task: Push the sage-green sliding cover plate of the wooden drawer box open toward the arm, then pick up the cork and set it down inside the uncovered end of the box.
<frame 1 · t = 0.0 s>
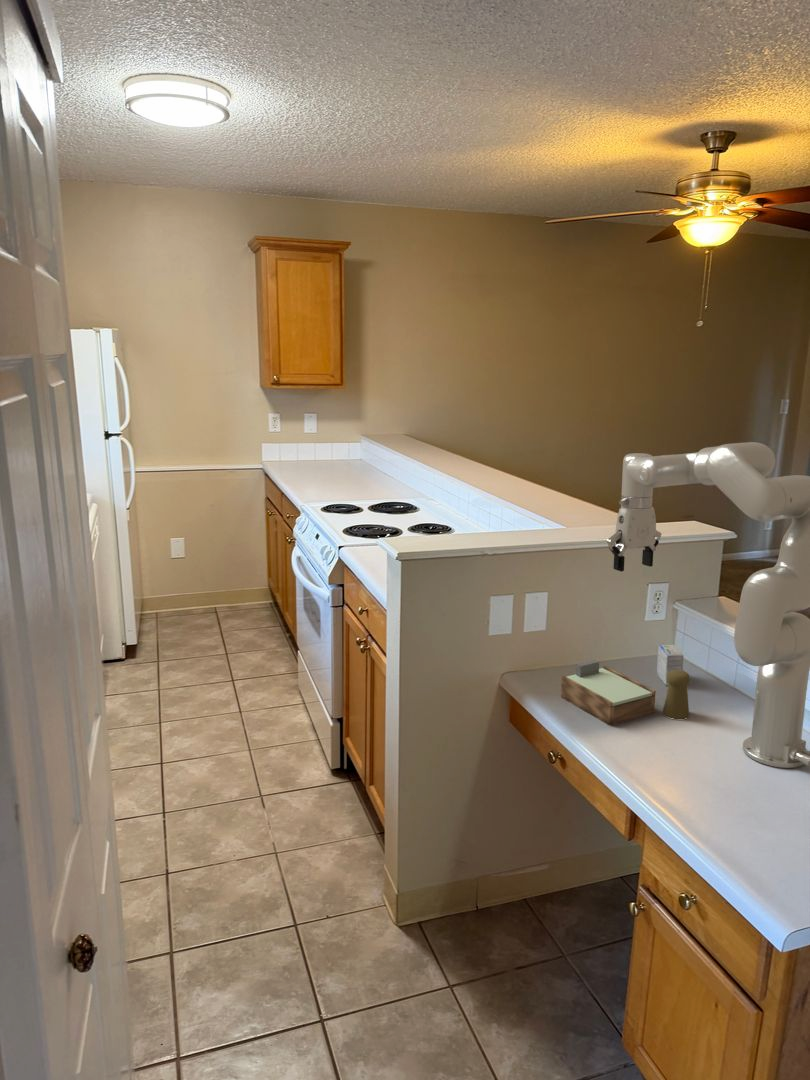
hand: (633, 567, 195), 31 cm above the countertop, fingers open, 9 cm apart
lid: (607, 680, 186), point 7 cm above the countertop, slide at 0.0 cm
medicine box: (668, 680, 202), on the countertop
wooden drawer box: (606, 704, 187), on the countertop
cork: (675, 715, 182), on the countertop
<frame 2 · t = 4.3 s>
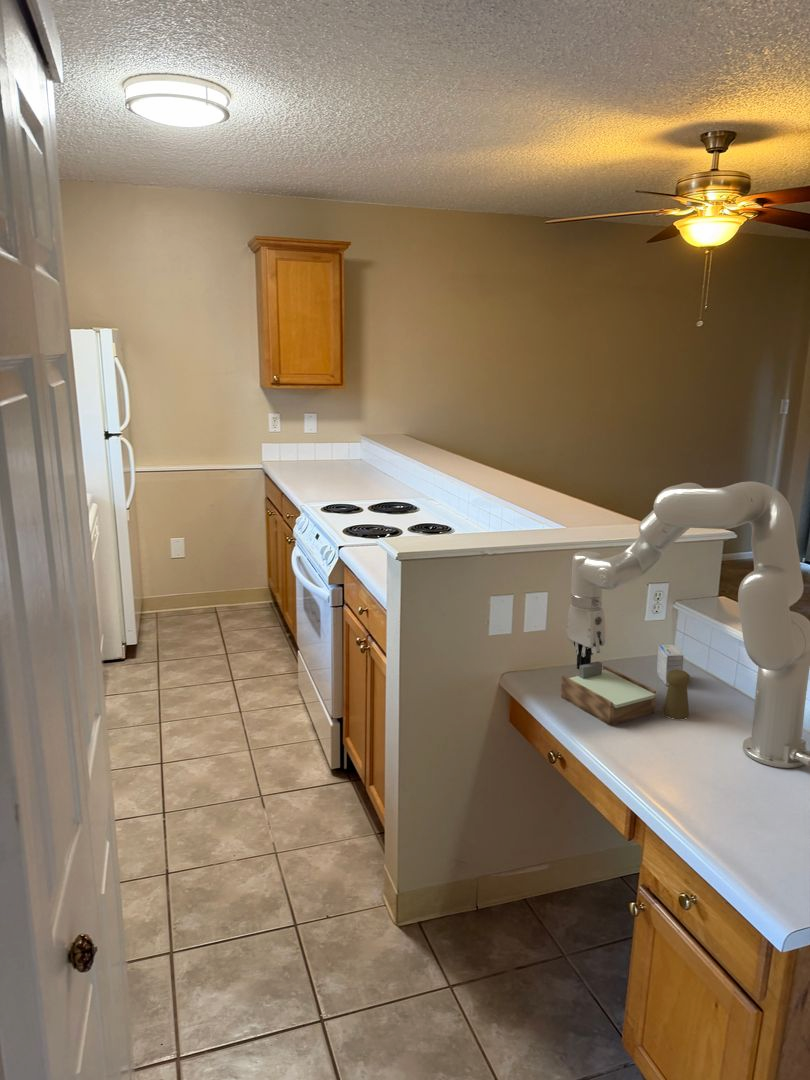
hand: (583, 668, 194), 6 cm above the countertop, fingers closed
lid: (610, 682, 185), point 7 cm above the countertop, slide at 1.2 cm, touching gripper
everything else where it was.
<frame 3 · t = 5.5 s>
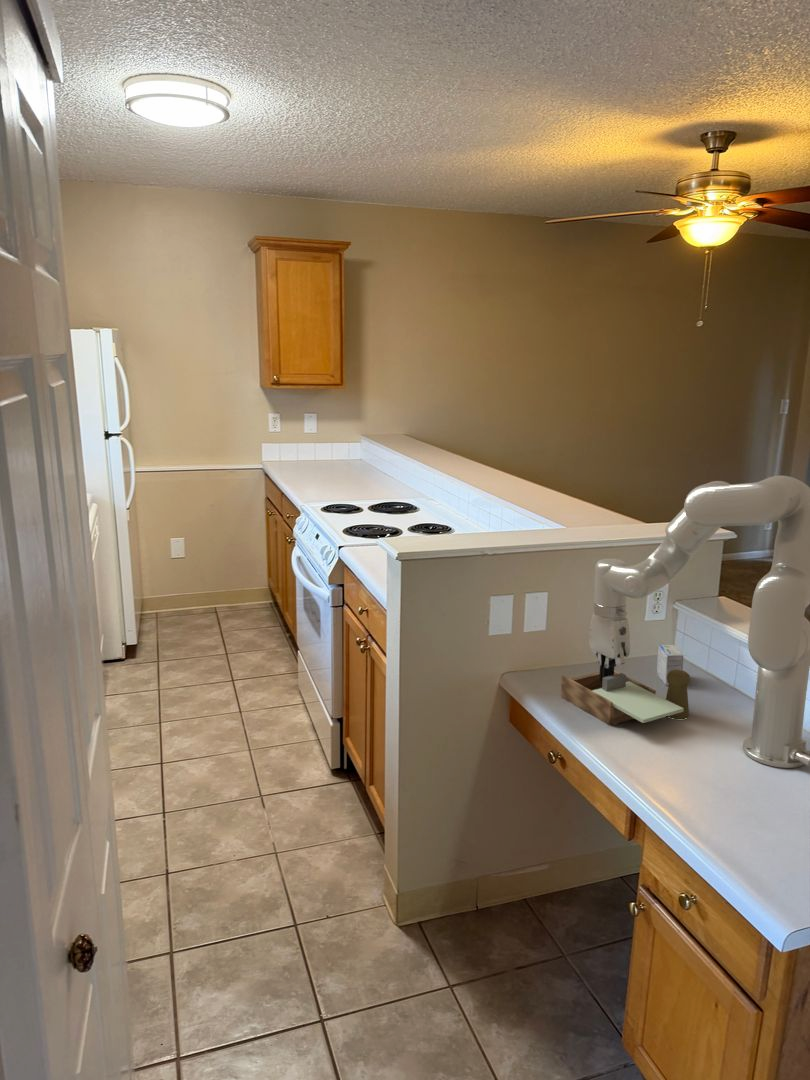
hand: (606, 680, 186), 6 cm above the countertop, fingers closed
lid: (636, 695, 177), point 7 cm above the countertop, slide at 9.8 cm, touching gripper
everything else where it was.
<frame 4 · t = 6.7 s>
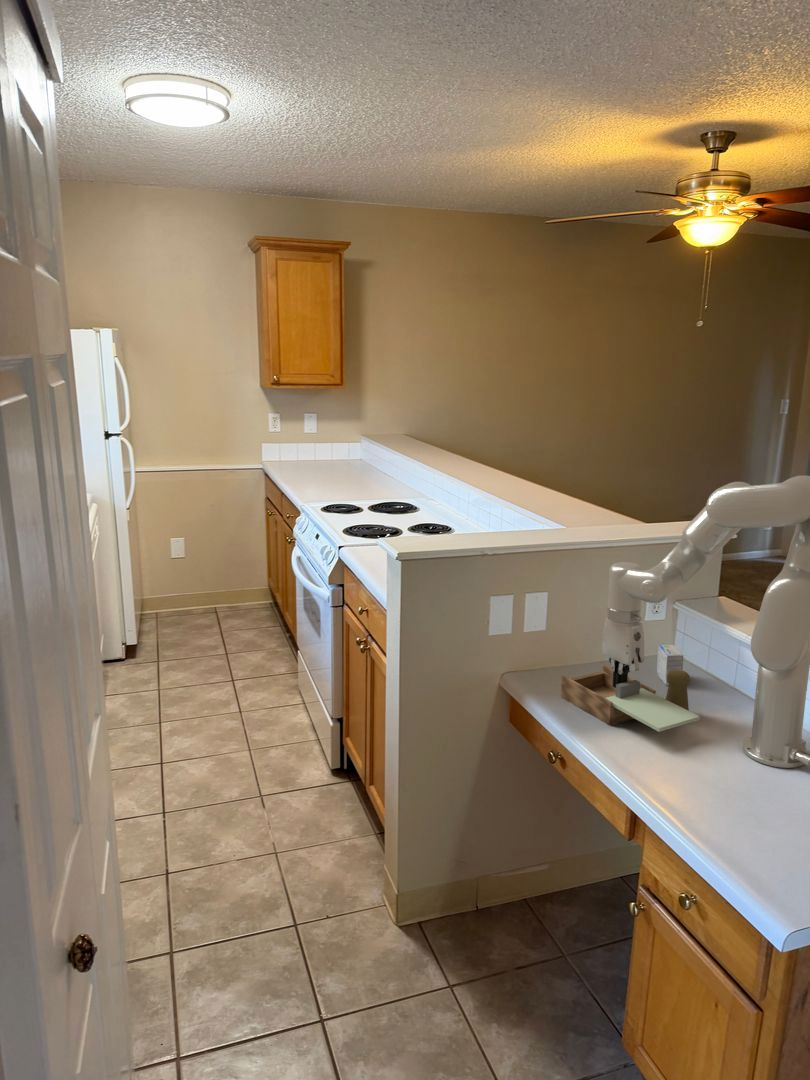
hand: (619, 686, 182), 6 cm above the countertop, fingers closed
lid: (650, 702, 173), point 7 cm above the countertop, slide at 14.5 cm, touching gripper
everything else where it was.
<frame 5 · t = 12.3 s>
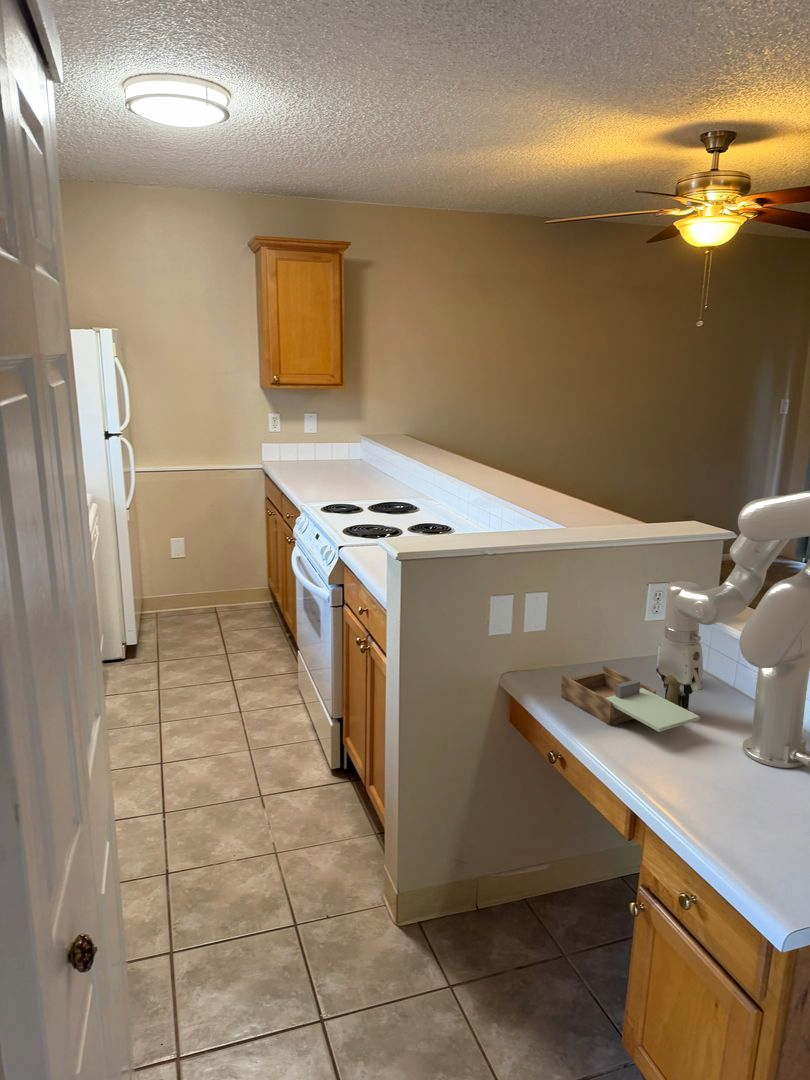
hand: (676, 705, 181), 2 cm above the countertop, fingers closed on cork, 3 cm apart
lid: (650, 702, 173), point 7 cm above the countertop, slide at 14.5 cm
cork: (675, 715, 182), on the countertop, touching gripper
everything else where it was.
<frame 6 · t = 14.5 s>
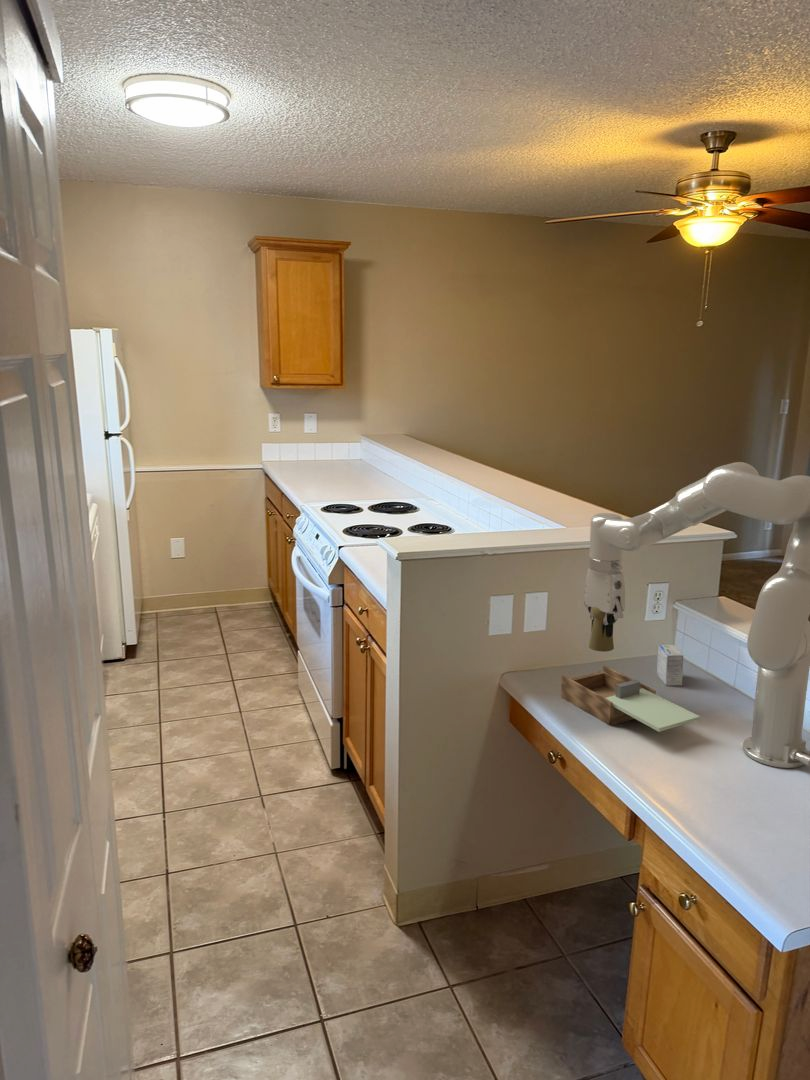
hand: (601, 636, 186), 17 cm above the countertop, fingers closed on cork, 2 cm apart
cork: (601, 647, 187), point 14 cm above the countertop, touching gripper
everything else where it was.
when the fingers open (5 cm above the countertop, at t = 17.0 s): cork drops 1 cm, resting on wooden drawer box.
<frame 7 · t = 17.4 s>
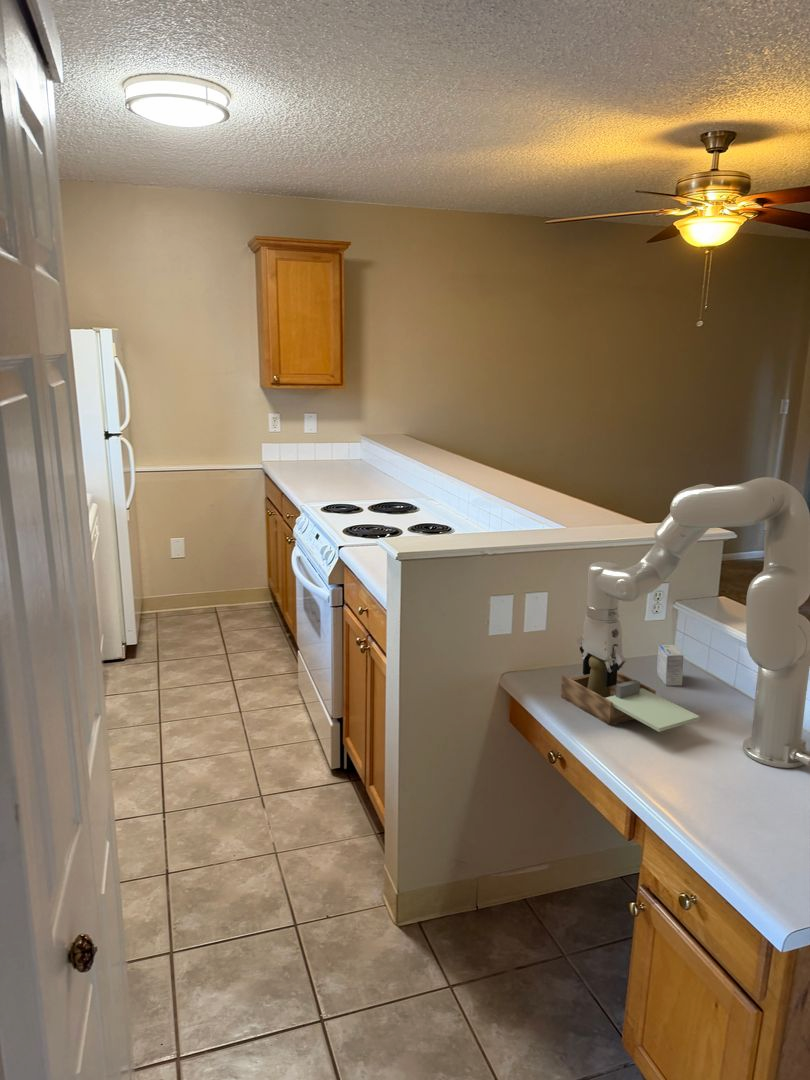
hand: (599, 679, 189), 6 cm above the countertop, fingers open, 7 cm apart
cork: (598, 697, 190), point 1 cm above the countertop, touching wooden drawer box
everything else where it was.
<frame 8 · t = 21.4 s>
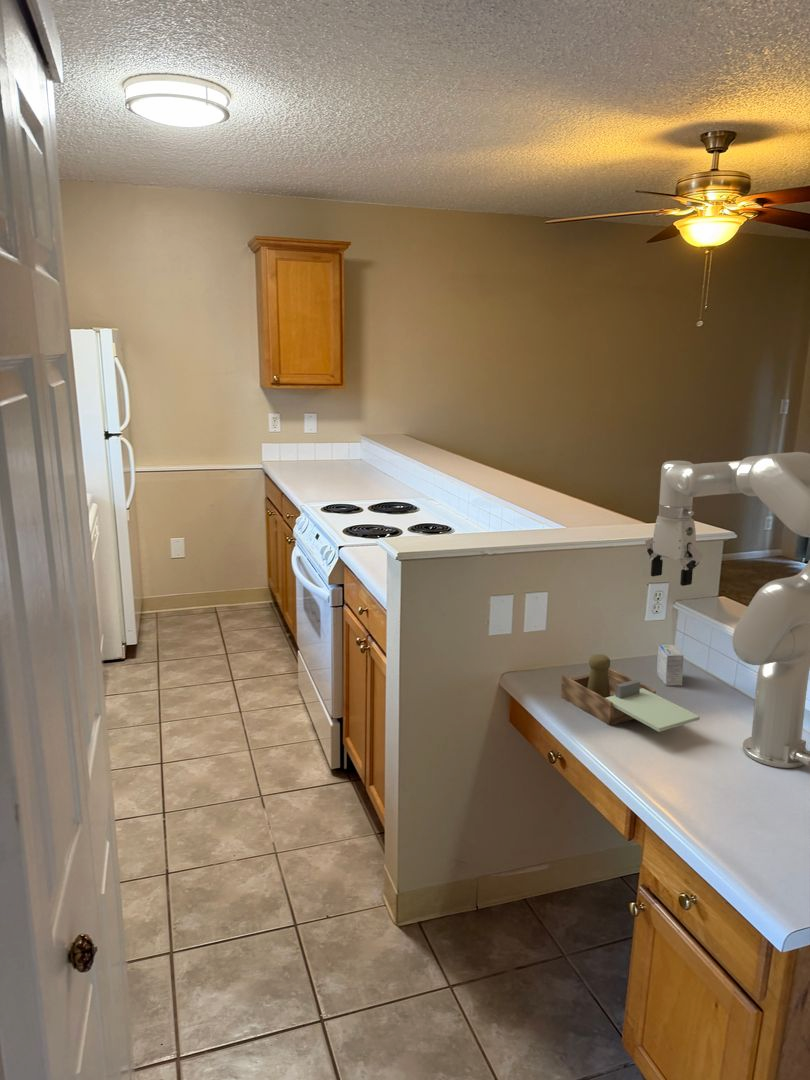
hand: (670, 580, 186), 30 cm above the countertop, fingers open, 9 cm apart
nothing on the countertop moved.
at the end: lid slide at 14.5 cm; cork inside the target area (1.7 cm from its centre), point 0.6 cm above the countertop; the gripper is holding nothing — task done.
